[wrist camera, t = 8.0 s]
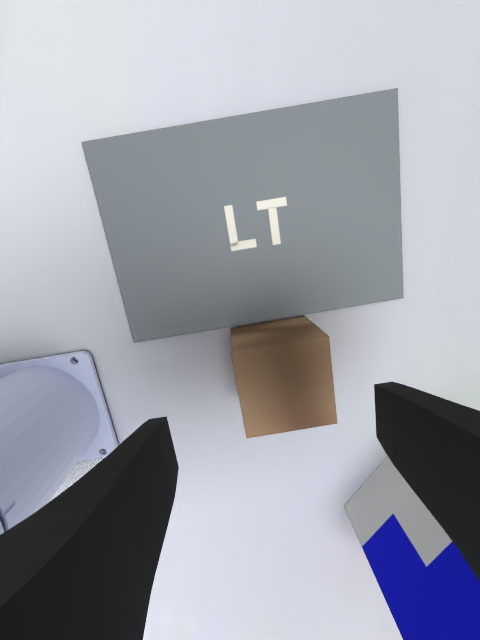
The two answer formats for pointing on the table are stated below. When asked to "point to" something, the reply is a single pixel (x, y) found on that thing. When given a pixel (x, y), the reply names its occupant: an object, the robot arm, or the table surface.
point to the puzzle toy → (414, 560)
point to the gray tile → (253, 214)
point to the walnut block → (283, 376)
